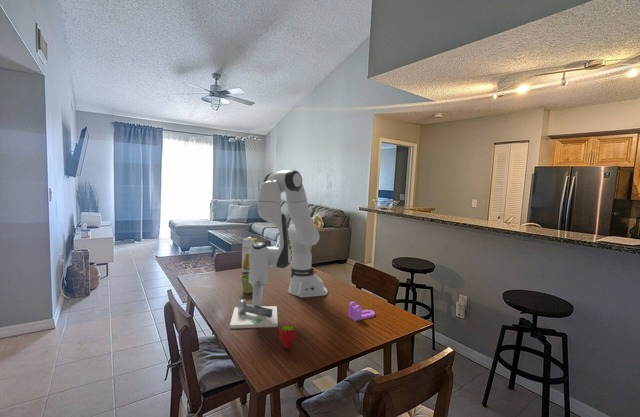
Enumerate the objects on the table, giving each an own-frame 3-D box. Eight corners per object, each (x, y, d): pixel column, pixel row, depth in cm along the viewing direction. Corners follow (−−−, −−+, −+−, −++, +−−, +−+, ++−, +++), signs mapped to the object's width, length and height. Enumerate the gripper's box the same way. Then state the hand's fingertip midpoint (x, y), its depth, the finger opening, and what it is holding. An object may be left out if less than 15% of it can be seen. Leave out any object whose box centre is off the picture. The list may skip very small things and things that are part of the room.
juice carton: (240, 272, 201) (241, 237, 199) (245, 269, 209) (246, 235, 207) (253, 273, 200) (254, 238, 198) (258, 270, 207) (259, 236, 205)
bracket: (354, 321, 138) (355, 306, 138) (348, 316, 143) (348, 302, 142) (376, 316, 144) (377, 302, 144) (369, 311, 149) (370, 298, 149)
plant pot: (236, 292, 165) (237, 277, 165) (246, 287, 174) (247, 273, 173) (250, 296, 162) (251, 280, 161) (260, 290, 171) (261, 275, 170)
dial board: (276, 309, 147) (276, 305, 147) (277, 326, 129) (277, 323, 129) (234, 310, 143) (234, 306, 143) (229, 328, 126) (229, 324, 126)
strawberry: (288, 341, 118) (289, 317, 117) (298, 350, 112) (299, 325, 111) (275, 345, 114) (275, 320, 113) (284, 355, 108) (285, 329, 107)
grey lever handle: (236, 313, 136) (236, 301, 136) (240, 310, 139) (241, 298, 139) (269, 321, 130) (270, 308, 130) (273, 317, 134) (274, 305, 133)
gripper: (264, 286, 128) (263, 317, 129) (266, 271, 148) (265, 297, 149) (249, 286, 127) (248, 317, 128) (253, 271, 147) (252, 298, 148)
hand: (257, 306), depth 139 cm, fingers open, 4 cm apart
